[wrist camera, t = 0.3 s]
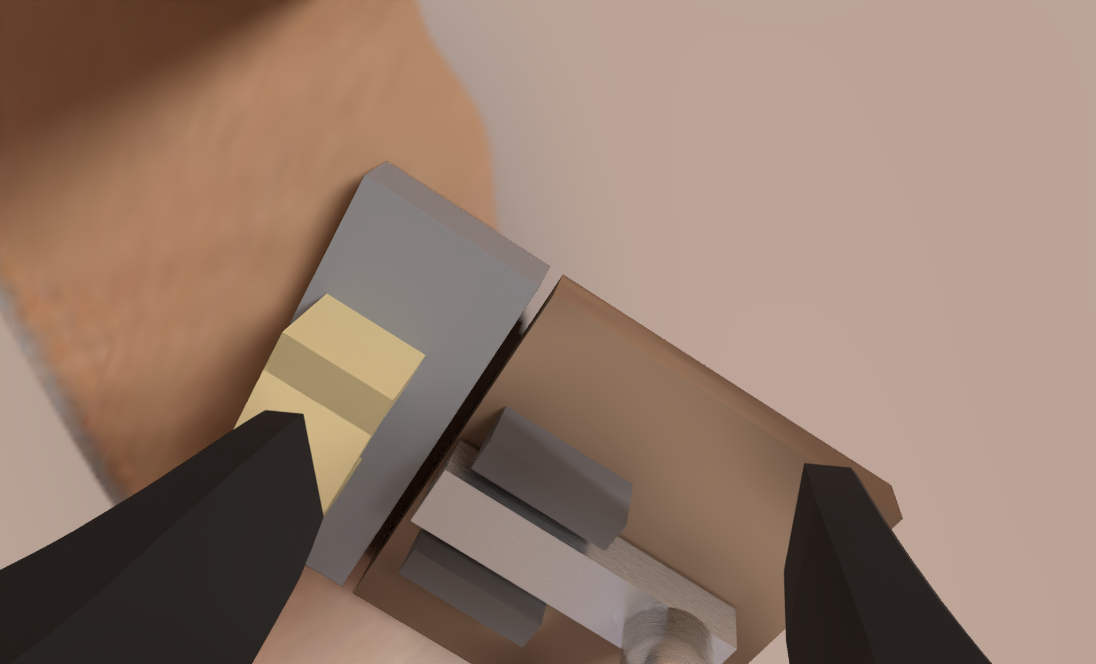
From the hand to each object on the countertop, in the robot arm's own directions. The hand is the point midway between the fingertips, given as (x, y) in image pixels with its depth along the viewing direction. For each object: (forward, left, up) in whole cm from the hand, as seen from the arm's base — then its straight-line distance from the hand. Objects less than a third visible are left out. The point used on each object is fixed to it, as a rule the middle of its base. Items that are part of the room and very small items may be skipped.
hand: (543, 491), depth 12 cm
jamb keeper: (-7, +4, -11) cm, 13 cm away
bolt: (-7, -4, -9) cm, 12 cm away
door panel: (-7, -4, -11) cm, 13 cm away
